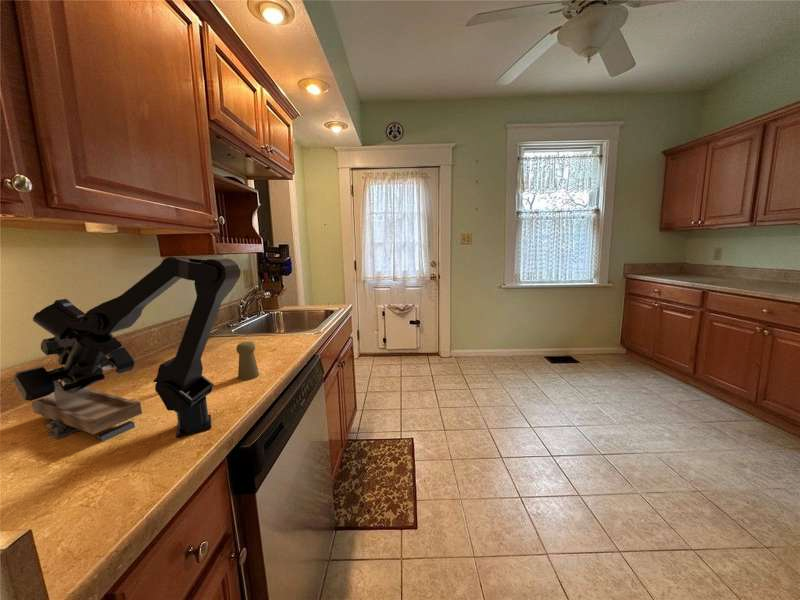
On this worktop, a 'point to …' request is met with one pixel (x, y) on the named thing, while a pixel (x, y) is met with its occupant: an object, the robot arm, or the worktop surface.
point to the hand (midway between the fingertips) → (72, 391)
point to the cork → (247, 361)
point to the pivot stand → (67, 430)
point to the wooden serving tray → (91, 412)
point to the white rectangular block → (65, 396)
